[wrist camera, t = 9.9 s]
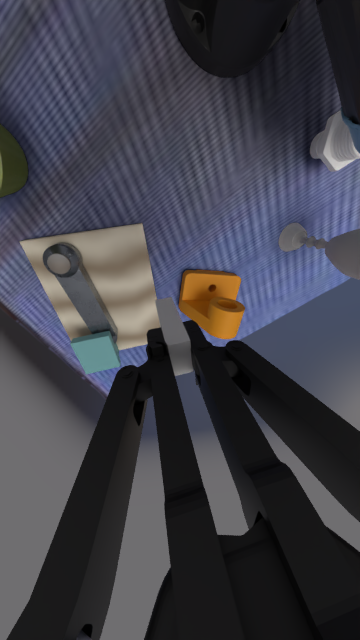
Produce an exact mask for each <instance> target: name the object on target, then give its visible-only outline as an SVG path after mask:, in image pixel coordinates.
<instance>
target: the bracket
mask: <svg viewBox="0 0 360 640" xmlns="http://www.w3.org/2000/svg"><path fill="white" fill-rule="evenodd" d="M240 283H241V278H240V277H239V276H237V275H236V274H234V273H225V272H224V271H211V270H198V269H196V270H186V271H185V272H184V273H183V278H182V285H181V292H180V299H179V308H180V311H182V312H183V313H184V314H185V315H187V316H188V317H189V318H190V319H192V320H193V321H195V322H196V323H197V324H198V325H199V326H200V327H201V328H203V329H204V330H205V331H206V332H208V333H209V334H210V335H212V336H214V337H217V338H221V339H231V338H234V337H235V336H236V334H237V331H238V328H239V325H240V322H241V319H242V316H243V313H244V310H245V307H244V306H243V305H242V304H241V303H240V302H238V301H235V300H236V296H237V293H238V290H239V286H240Z"/></svg>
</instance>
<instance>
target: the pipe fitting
mask: <svg viewBox="0 0 360 640" xmlns="http://www.w3.org/2000/svg"><path fill="white" fill-rule="evenodd" d="M310 155H311V157H312V158H314V159H321V160H322V161H323V163H324V164H325V165H326V166H327V168H328V169H329V170H330V171H331V172H332V171H338V170H339V169H341V168H343V167H344V166H346V165H347V164H349V163H350V162H352V161H354V160H355V159H359V158H360V153H358V151H357V150H356V149H355V147H354V144H353V141H352V138H351V135H350V132H349V129H348V126H347V125H346V124H345V123H344V121H343V120H342V116H341V110H340V111H338V112H337V113H335V114H334V115H332V116H331V117H330V118H329V119H328V121H327V124H326V127H325V130H324V131H322V132H321V133H319V134H317V135H316V136H315V137H314V139H313V140H312V143H311V146H310Z"/></svg>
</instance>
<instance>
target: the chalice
mask: <svg viewBox="0 0 360 640" xmlns="http://www.w3.org/2000/svg"><path fill="white" fill-rule="evenodd" d="M304 244H306V246H307V247H308V248H310V247H312V246H315V247H316V249H321V248H325V254H326V256H327V257H328V258H329V260H330V261H331V262H332V264H333V265H334V266H335V267H336V268H337V269H338V270H339V271H340V272H342V273H343V274H345V275H347V276H350V277H353V278H356V279H359V280H360V229H357V230H353V231H350V232H347V233H344V234H342V235H339V236H336V237H334V238H332V239H331V240H330V241H329V242H327V241H325V240H324V239H323V238H321V239H319V240H316V238H315V237H314V236H311V237H310V238H307V231H306V230H305V229H304V228H303V227H302V226H301V225H300V224H299V223H291V224H289V225H288V226H286V227H285V228H284V229H283V231H282V233H281V234H280V237H279V247H280V248H281V250H283V251H285V252H288V251H292V250H296V249H299V248H300V247H302V246H303V245H304Z"/></svg>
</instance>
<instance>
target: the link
mask: <svg viewBox="0 0 360 640" xmlns="http://www.w3.org/2000/svg"><path fill="white" fill-rule="evenodd" d="M54 253H62V254H64V255H66V256H67V257H68V258H69V259H70V261H71V268H70V269H69V270H68V272H66V273H64V274H58V273H55V272H53V271H52V270H51V269H50V268H49V266H48V264H47V260H48V258H49V257H50V256H51V255H52V254H54ZM82 261H83V260H82V255H81V253H80V252H79V250H78V249H77V248H76V247H75V246H73V245H71V244H69V243H65V242H59V243H56V244H54V245H52V246H50V247H48V248H47V249H46V250H45V251H44V253H43V263H44V265H45V267H46V269H47V270H48V271H49V272H50V273H52V274H53V275H55V277H56V278H57V280H58V281H59V283H60V285H61V286H62V288H63V289H64V291H65V292H66V294H67V296H68V297H69V299H70V300H71V302H72V303H73V305H74V306H75V308H76V310H77V311H78V313H79V314H80V316H81V317H82V319H83V321H84V322H85V324H86V325H87V327H88V328H89V330H90V331H91V333H92V334H96V333H101V332H106V331H110V334H111V336H112V339H113V342H114V344H115V343H116V342H117V336H118V329H117V327H116V325H115V323H114V321H113V319H112V317H111V316H110V314H109V312H108V310H107V308H106V306H105V304H104V303H103V301H102V299H101V297H100V295H99V293H98V291H97V289H96V288H95V286H94V284H93V282H92V280H91V278H90V276H89V275H88V273H87V271H86V269H85V267H84V265H83V263H82Z"/></svg>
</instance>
